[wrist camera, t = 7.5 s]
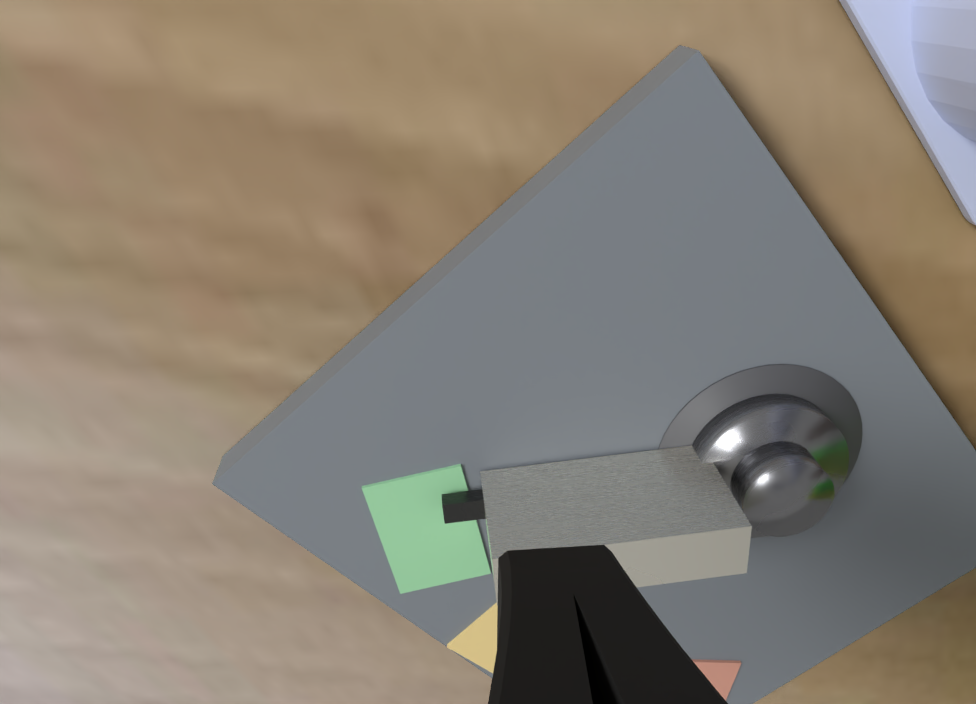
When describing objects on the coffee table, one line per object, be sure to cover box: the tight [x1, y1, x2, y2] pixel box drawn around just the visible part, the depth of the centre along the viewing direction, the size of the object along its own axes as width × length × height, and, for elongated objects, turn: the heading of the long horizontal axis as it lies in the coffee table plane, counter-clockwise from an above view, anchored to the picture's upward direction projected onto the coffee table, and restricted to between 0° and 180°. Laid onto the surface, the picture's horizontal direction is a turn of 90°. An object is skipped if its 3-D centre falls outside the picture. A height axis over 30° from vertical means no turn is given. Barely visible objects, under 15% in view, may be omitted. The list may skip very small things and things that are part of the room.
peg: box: [442, 394, 849, 606], centre depth 18 cm, size 10×4×3 cm, turn 95°
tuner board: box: [212, 45, 976, 704], centre depth 21 cm, size 15×18×1 cm
